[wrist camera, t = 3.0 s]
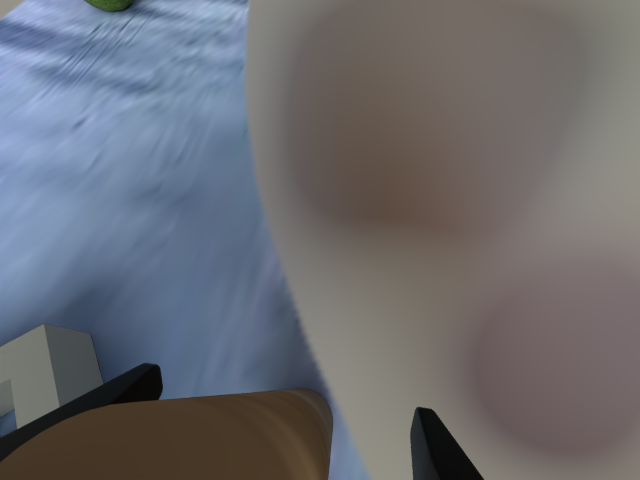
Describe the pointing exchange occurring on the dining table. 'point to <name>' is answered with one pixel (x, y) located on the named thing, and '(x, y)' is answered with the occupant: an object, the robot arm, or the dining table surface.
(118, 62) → the dining table surface
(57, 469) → the long dowel
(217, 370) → the dining table surface
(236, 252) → the dining table surface
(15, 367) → the hole block
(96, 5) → the avocado
